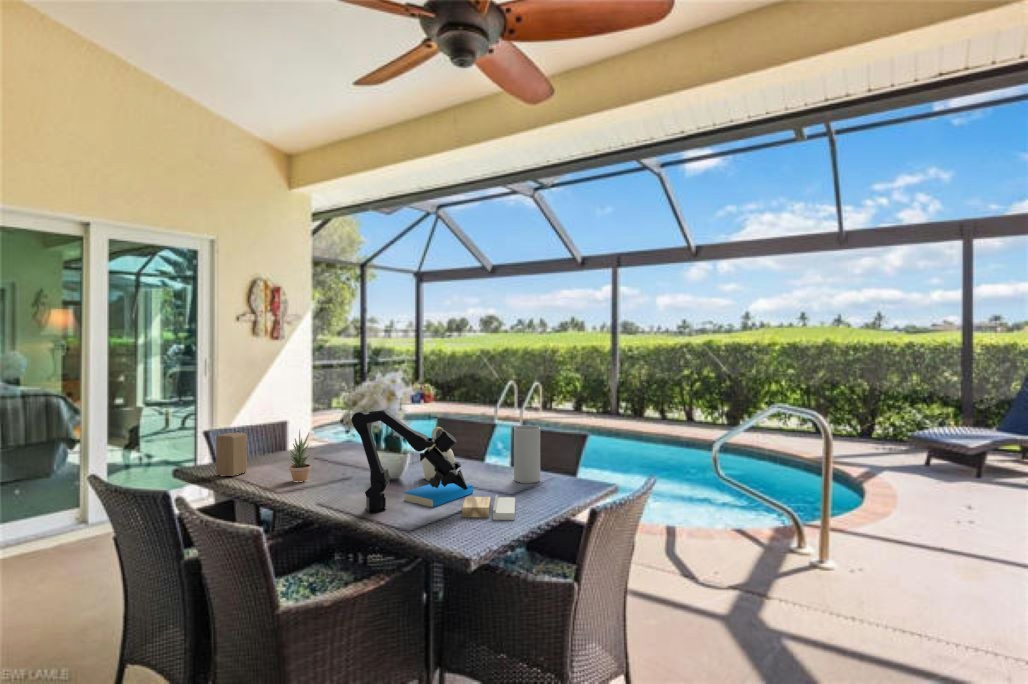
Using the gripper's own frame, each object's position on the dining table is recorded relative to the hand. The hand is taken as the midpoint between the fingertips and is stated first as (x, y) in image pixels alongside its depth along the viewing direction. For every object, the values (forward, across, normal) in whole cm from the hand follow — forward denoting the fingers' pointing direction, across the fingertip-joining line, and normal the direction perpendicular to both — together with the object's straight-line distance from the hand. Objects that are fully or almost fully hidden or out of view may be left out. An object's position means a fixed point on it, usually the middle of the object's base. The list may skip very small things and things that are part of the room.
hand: (466, 489), depth 214 cm
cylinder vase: (+23, -47, +11) cm, 54 cm away
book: (-3, -19, -16) cm, 25 cm away
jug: (-7, -49, -19) cm, 53 cm away
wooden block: (-80, -54, -92) cm, 133 cm away
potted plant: (-52, -43, -65) cm, 94 cm away
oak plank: (+4, 0, -6) cm, 7 cm away
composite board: (+16, 0, +4) cm, 17 cm away
